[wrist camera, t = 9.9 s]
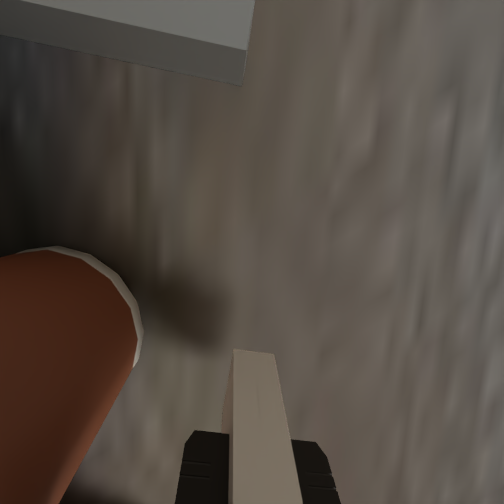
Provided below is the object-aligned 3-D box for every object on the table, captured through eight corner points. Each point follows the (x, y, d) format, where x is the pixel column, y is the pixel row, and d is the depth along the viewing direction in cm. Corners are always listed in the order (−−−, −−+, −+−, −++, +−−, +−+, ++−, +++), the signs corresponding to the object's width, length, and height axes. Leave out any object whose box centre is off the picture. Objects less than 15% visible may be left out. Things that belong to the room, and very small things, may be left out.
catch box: (165, 537, 18) (141, 675, 14) (-117, 510, 17) (-253, 652, 12) (247, 55, 13) (255, -1, 8) (-167, -36, 11) (-454, -168, 7)
